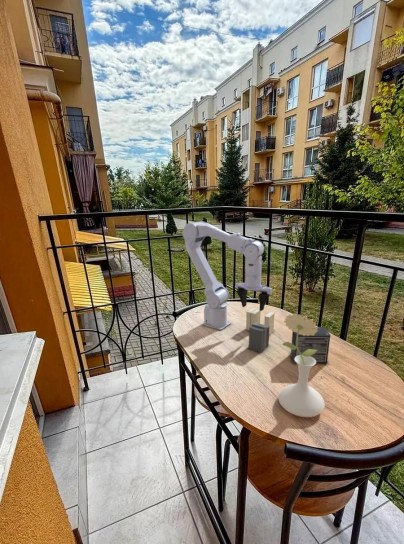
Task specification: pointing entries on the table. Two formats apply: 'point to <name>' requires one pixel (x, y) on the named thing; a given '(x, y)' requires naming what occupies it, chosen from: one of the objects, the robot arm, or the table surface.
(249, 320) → the cream books
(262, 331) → the grey books
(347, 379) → the table surface
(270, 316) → the cream book
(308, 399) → the flower in vase
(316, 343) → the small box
